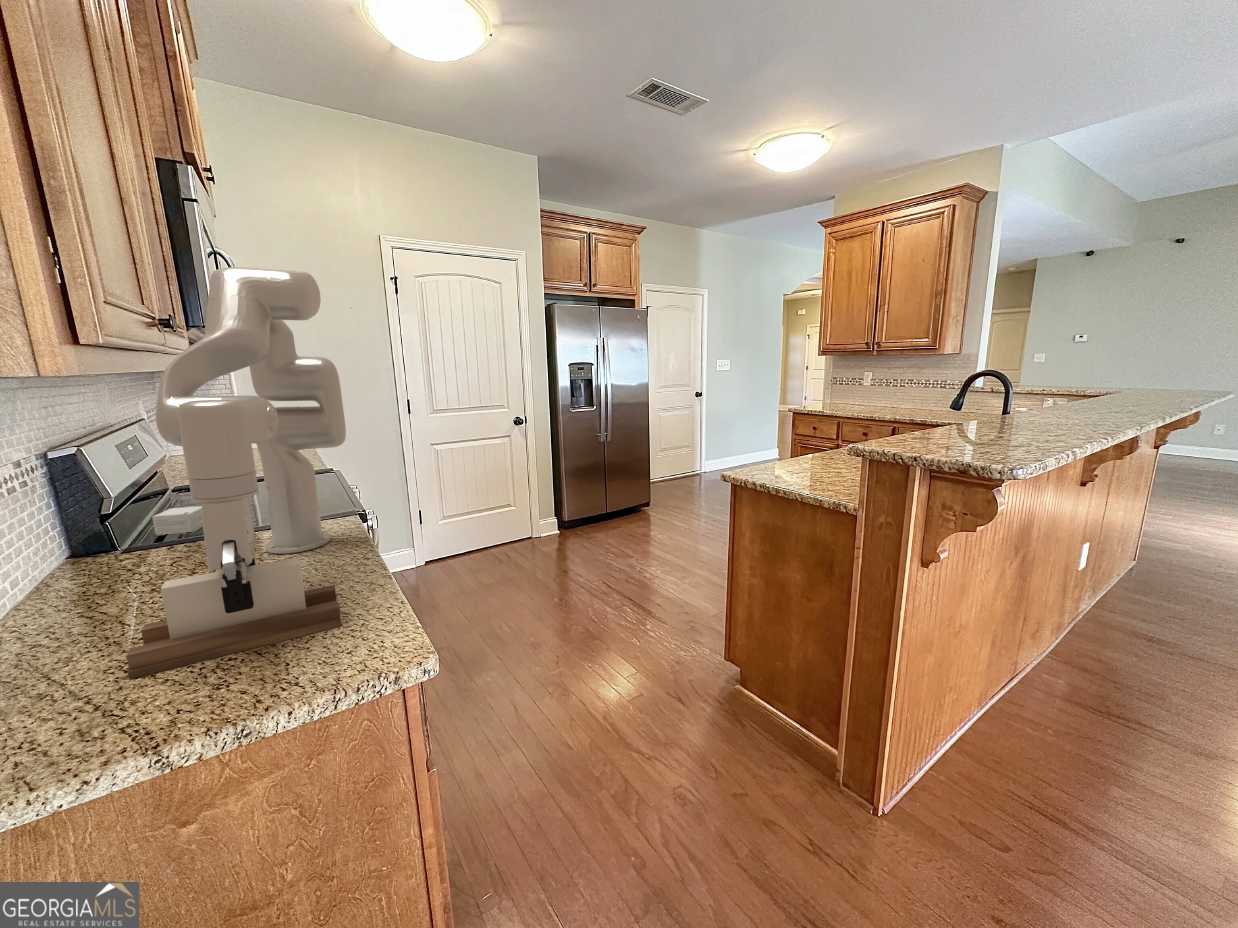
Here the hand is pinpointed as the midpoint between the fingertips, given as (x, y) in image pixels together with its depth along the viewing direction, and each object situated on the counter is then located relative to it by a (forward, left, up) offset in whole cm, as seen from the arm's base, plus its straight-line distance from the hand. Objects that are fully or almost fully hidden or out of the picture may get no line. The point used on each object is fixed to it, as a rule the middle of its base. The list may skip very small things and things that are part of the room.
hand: (242, 596), depth 73 cm
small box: (-72, -18, -6) cm, 75 cm away
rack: (0, 0, -6) cm, 6 cm away
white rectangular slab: (0, 0, -5) cm, 5 cm away
